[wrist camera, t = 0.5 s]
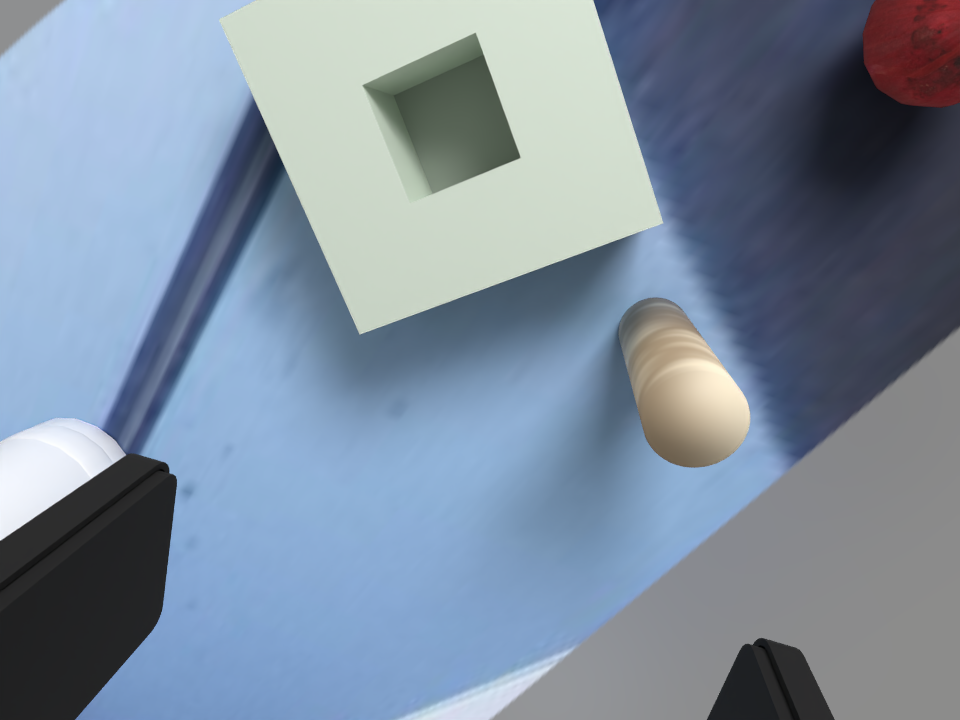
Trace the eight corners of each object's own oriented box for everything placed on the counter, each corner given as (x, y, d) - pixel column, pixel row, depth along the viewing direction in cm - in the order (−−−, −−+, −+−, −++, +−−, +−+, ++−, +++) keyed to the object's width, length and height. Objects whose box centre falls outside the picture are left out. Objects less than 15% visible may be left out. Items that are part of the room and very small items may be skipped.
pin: (677, 287, 33) (733, 357, 22) (698, 352, 34) (762, 450, 23) (609, 311, 34) (628, 390, 23) (630, 373, 35) (660, 479, 24)
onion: (914, 136, 30) (1031, 129, 22) (806, 72, 30) (887, 44, 22) (1007, 9, 28) (1170, -45, 20) (893, -60, 28) (1014, -140, 20)
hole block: (550, -91, 29) (545, -150, 23) (646, 210, 32) (663, 222, 27) (280, 43, 32) (219, 19, 27) (393, 305, 35) (359, 334, 30)
